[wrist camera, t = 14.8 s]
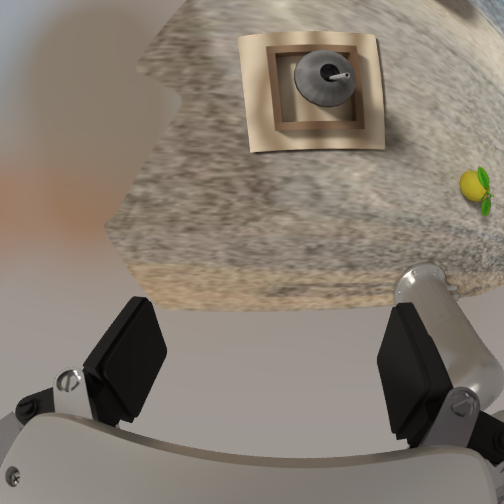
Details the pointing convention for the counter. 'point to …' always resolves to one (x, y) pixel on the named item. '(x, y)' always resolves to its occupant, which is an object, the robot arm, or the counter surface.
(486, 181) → the lemon
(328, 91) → the beverage cup
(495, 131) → the counter surface
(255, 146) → the cup holder
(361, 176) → the counter surface
